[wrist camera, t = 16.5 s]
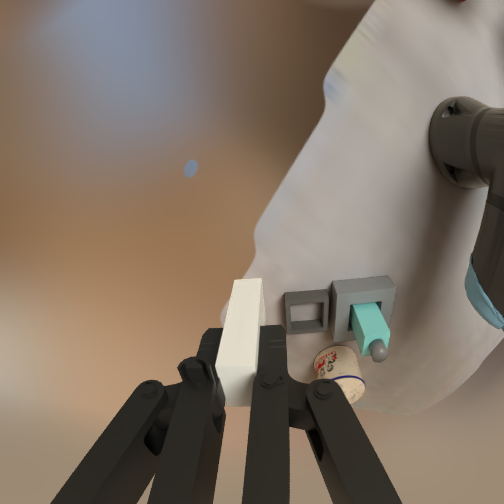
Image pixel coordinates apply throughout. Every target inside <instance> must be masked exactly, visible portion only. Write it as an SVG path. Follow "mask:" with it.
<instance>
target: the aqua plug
mask: <svg viewBox="0 0 504 504" xmlns="http://www.w3.org/2000/svg"><path fill="white" fill-rule="evenodd" d="M349 320H350V322H351V325H352V328H353V331H354V334H355V337H356V340H357V343H358V346H359V349H360V352H361V355H362V356H367V355H371V356H372V359H373V361H374V362H382V361H384V360H385V359H386V358H387V357H388V355H389V353H388V351H387V347H388V343H389V338H390V334H391V332H390V330H389V328H388V326H387V324H386V322H385V320H384V318H383V316H382V314H381V312H380V310H379V308H378V306H377V304H376V302H370V303H361V304H352V305H350V313H349Z"/></svg>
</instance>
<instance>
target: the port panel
mask: <svg viewBox="0 0 504 504" xmlns="http://www.w3.org/2000/svg"><path fill="white" fill-rule="evenodd" d="M395 293H396V286H395V285H394V283H393V282H392V280H391V279H390V277H389V276H379V277H369V278H359V279H349V280H338V281H332V306H331V325H330V329H331V333H332V337H333V341H334V342H342V341H351V340H356V337H355V334H354V331H353V328H352V325H351V322H350V320H349V313H350V305H352V304H361V303H370V302H376V304H377V306H378V308H379V310H380V312H381V314H382V316H383V318H384V320H385V322H386V324H387V326H388V328H389V326H390V321H391V316H392V310H393V305H394V299H395Z"/></svg>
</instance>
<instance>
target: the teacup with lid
mask: <svg viewBox="0 0 504 504" xmlns="http://www.w3.org/2000/svg"><path fill="white" fill-rule="evenodd" d="M314 369H315V376H316V380H317V379H323V378H326V379H331V380H333V381H335V382H337V383H338V384H339V385H340V387H341V388H342V390H343V392H344V394H345V396H346V398H347V400H348V401H349V403H350V404H352V403H354V402H355V401H357V400H358V399H359V398H360V397H361V396H362V395H363V393H364V391H365V382H364V381H363V380H362V376H361V373H360V369H359V366H358V362H357V359H356V355H355V353H354V351H353V350H352V349H350V348H348V347H345V346H333V347H330V348H327V349H325V350H323V351H322V352H320V353H319V354H318V355H317V357H316V358H315V361H314Z"/></svg>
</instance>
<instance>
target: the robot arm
mask: <svg viewBox="0 0 504 504" xmlns="http://www.w3.org/2000/svg"><path fill="white" fill-rule="evenodd" d="M429 136H430V147H431V152H432V155H433V158H434V161H435V163H436V165H437V167H438V169H439V170H440V172H441V173H442V174H443V175H444V176H445V178H447V179H448V180H449V181H451V182H452V183H454V184H456V185H459V186H461V187H464V188H470V189H472V188H481V187H489V189H488V195H487V200H486V204H485V209H484V213H483V218H482V222H481V226H480V229H479V233H478V236H477V240H476V243H475V246H474V250H473V252H472V254H471V256H470V264H469V267H468V271H467V274H466V277H465V289H466V292H467V297H468V299H469V301H470V303H471V304H472V306H473V307H474V309H475V310H476V311H477V312H478V313H479V314H480V316H481V317H482V318H483V319H485V320H486V321H487V322H488V323H489V324H491V325H492V326H494V327H495V328H497V329H500V328H501V329H502V330H503V331H504V108H491V107H489V106H487V105H485V104H483V103H481V102H479V101H477V100H475V99H473V98H470V97H463V96H462V97H451V98H448V99H446V100H444V101H443V102H442V103H441V104H440V105H439V106H438V107H437V109H436V110H435V112H434V114H433V117H432V120H431V124H430V134H429ZM265 319H266V317H265V307H264V298H263V289H262V280H261V278H257V279H241V280H235V281H234V285H233V290H232V294H231V298H230V302H229V307H228V311H227V315H226V320H225V324H224V328H209V329H208V330H207V331H206V332H205V333H204V334H203V336H202V339H201V342H200V346H199V350H198V352H197V356H195V357H189V358H187V359H184V360H183V361H182V362H181V363H180V364H179V365H178V367H177V368H178V371H179V373H180V375H181V378H182V380H183V381H182V382H180V383H177V384H173V385H168V386H163V385H162V383H161V382H159V381H157V380H148V381H145V382H143V383H141V384H140V385H139V386H138V387H137V388H136V389H135V390H134V392H133V393H132V394H131V396H130V397H129V398H128V400H127V401H126V402H125V404H124V405H123V406H122V408H121V409H120V410H119V412H118V413H117V414H116V416H115V417H114V418H113V420H112V421H111V422H110V424H109V425H108V426H107V428H106V429H105V430H104V432H103V433H102V434H101V436H100V437H99V438H98V440H97V441H96V442H95V444H94V445H93V446H92V448H91V449H90V450H89V452H88V453H87V454H86V456H85V457H84V459H83V460H82V461H81V463H80V464H79V465H78V467H77V468H76V470H75V471H74V472H73V473H72V475H71V476H70V477H69V479H68V480H67V482H66V483H65V484H64V486H63V487H62V488H61V490H60V491H59V493H58V494H57V495H56V497H55V498H54V499H53V501H52V502H51V504H137V502H138V501H139V499H140V497H141V496H142V494H143V493H144V491H145V489H146V487H147V486H148V484H149V483H150V481H151V479H152V478H153V476H154V474H155V477H154V480H153V484H152V488H151V491H150V495H149V499H148V503H147V504H213V499H214V492H215V485H216V479H217V472H218V464H219V458H220V452H221V446H222V439H223V432H224V426H225V419H226V413H225V410H224V406H225V400H226V404H227V406H251V411H250V424H249V434H248V444H247V455H246V466H245V476H244V486H243V497H242V504H289V501H290V500H289V498H290V489H289V488H290V456H289V455H290V453H289V451H290V448H289V427H293V428H298V429H303V430H305V432H306V434H307V437H308V439H309V442H310V445H311V447H312V450H313V453H314V455H315V458H316V461H317V463H318V466H319V468H320V471H321V474H322V476H323V479H324V481H325V484H326V487H327V489H328V492H329V494H330V497H331V499H332V502H333V504H402V502H401V500H400V498H399V496H398V494H397V492H396V490H395V488H394V487H393V485H392V483H391V481H390V479H389V477H388V475H387V473H386V471H385V469H384V467H383V465H382V463H381V462H380V460H379V458H378V456H377V454H376V452H375V450H374V448H373V446H372V445H371V443H370V441H369V439H368V437H367V435H366V433H365V431H364V430H363V428H362V426H361V424H360V422H359V420H358V418H357V417H356V414H355V413H354V411H353V409H352V407H351V405H350V403H349V401H348V400H347V398H346V396H345V394H344V392H343V390H342V388H341V387H340V385H339V384H338V383H337V382H335V381H333V380H331V379H326V378H323V379H317V380H315V381H313V382H311V383H310V384H305V383H301V382H297V381H296V380H294V379H292V378H291V377H290V375H289V374H288V370H287V349H286V331H285V330H284V328H283V327H282V326H281V325H267V326H265Z"/></svg>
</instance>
